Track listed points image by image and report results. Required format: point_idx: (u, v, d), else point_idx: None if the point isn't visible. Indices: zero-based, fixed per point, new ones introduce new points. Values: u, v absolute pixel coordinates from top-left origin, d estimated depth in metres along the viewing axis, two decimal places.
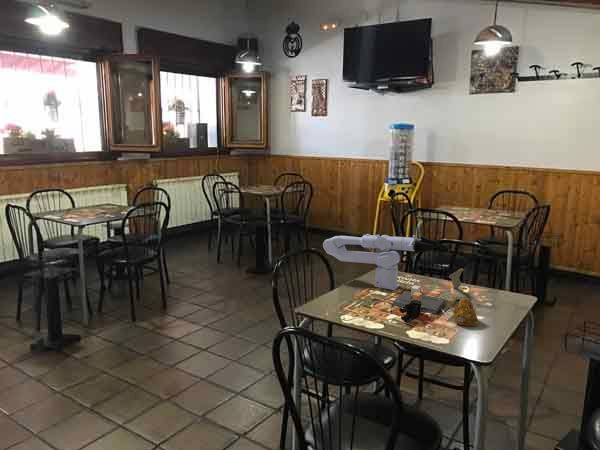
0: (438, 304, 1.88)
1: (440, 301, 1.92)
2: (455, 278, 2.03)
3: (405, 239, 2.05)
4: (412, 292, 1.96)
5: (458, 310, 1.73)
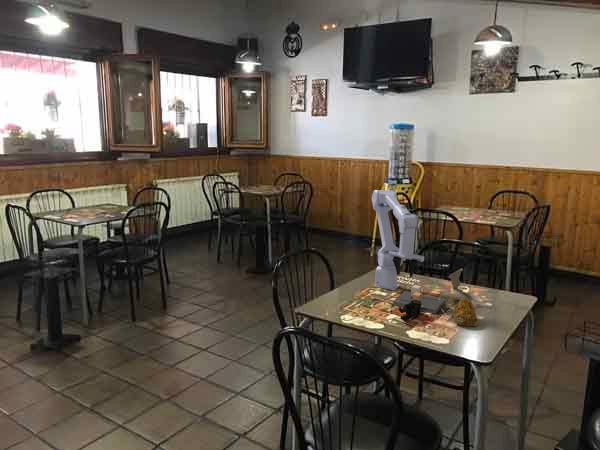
0: (438, 304, 1.88)
1: (440, 301, 1.92)
2: (455, 278, 2.03)
3: (401, 247, 1.95)
4: (412, 292, 1.96)
5: (458, 310, 1.73)
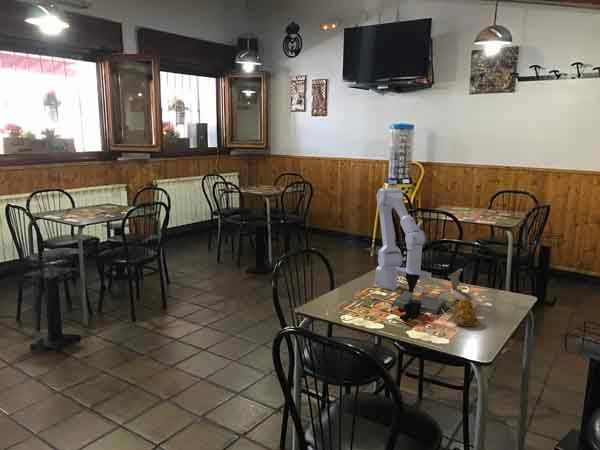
0: (438, 304, 1.88)
1: (440, 301, 1.92)
2: (454, 278, 2.03)
3: (408, 264, 1.95)
4: (414, 292, 1.95)
5: (458, 311, 1.73)
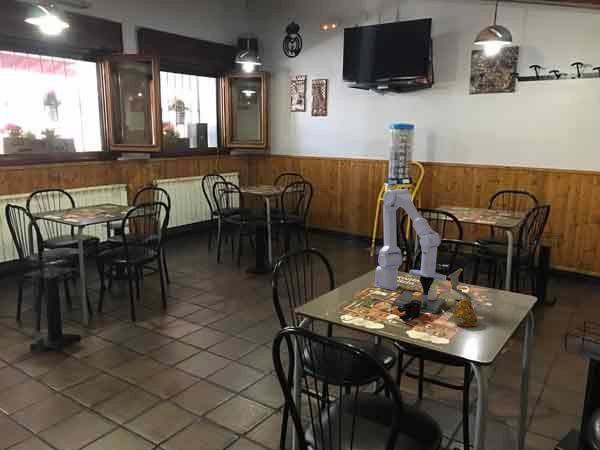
0: (438, 304, 1.88)
1: (440, 301, 1.92)
2: (454, 278, 2.03)
3: (422, 266, 1.92)
4: (429, 295, 1.92)
5: (458, 311, 1.73)
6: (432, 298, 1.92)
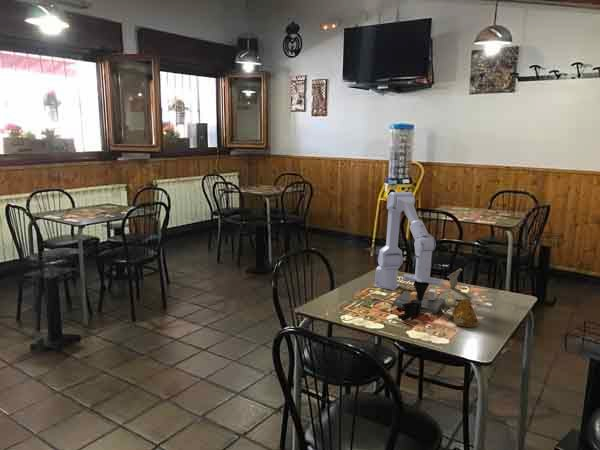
0: (438, 304, 1.88)
1: (440, 301, 1.92)
2: (453, 278, 2.03)
3: (416, 271, 1.85)
4: (429, 295, 1.92)
5: (458, 311, 1.72)
6: (432, 298, 1.92)
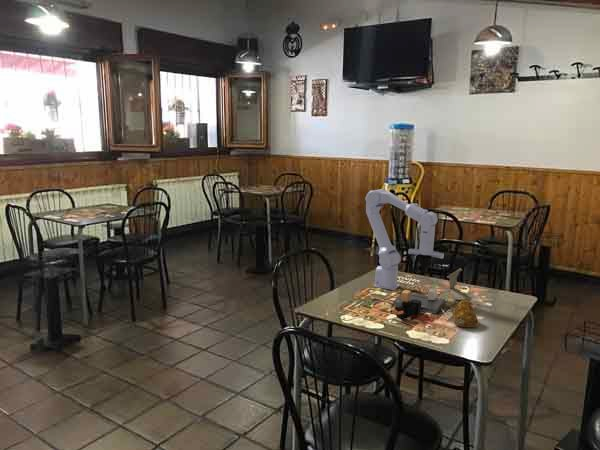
0: (438, 304, 1.88)
1: (440, 301, 1.92)
2: (453, 278, 2.03)
3: (421, 244, 1.99)
4: (429, 295, 1.92)
5: (458, 312, 1.72)
6: (432, 298, 1.92)
